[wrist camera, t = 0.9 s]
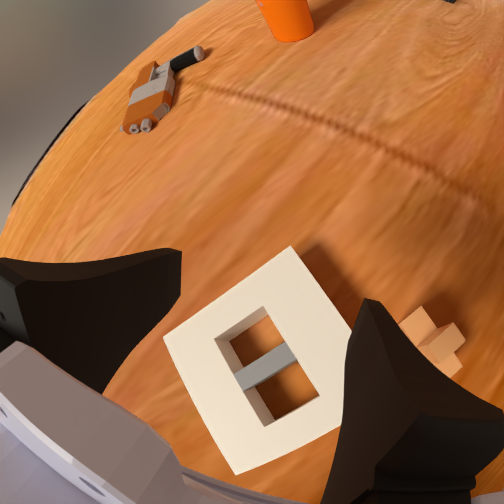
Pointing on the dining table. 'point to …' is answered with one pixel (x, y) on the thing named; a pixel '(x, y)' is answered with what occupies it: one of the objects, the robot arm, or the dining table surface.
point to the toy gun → (155, 91)
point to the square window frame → (264, 362)
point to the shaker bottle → (287, 19)
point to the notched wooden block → (434, 340)
